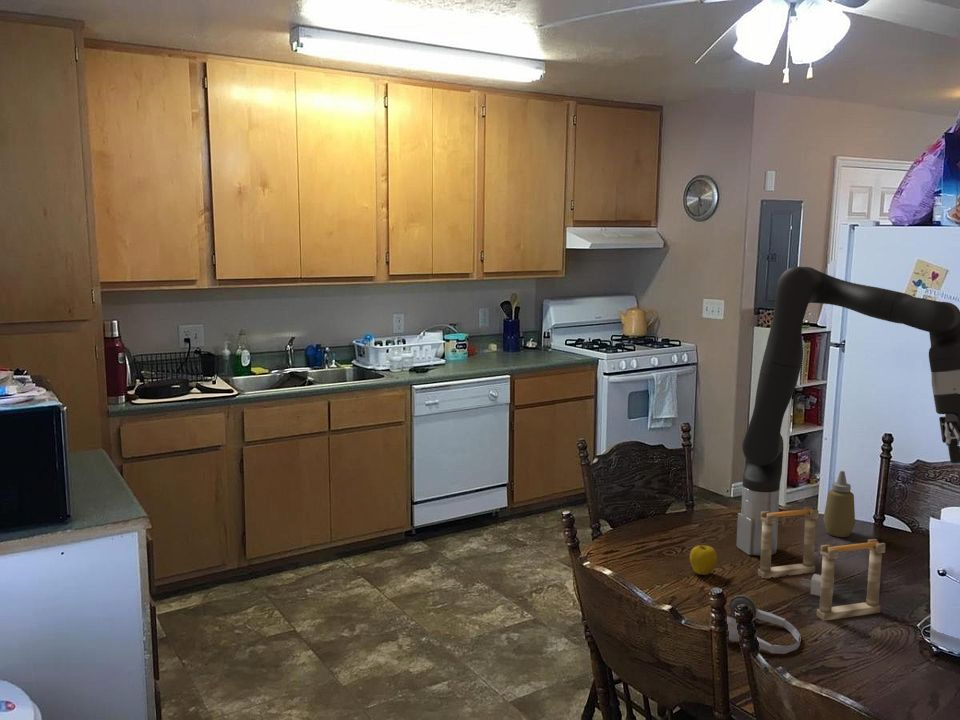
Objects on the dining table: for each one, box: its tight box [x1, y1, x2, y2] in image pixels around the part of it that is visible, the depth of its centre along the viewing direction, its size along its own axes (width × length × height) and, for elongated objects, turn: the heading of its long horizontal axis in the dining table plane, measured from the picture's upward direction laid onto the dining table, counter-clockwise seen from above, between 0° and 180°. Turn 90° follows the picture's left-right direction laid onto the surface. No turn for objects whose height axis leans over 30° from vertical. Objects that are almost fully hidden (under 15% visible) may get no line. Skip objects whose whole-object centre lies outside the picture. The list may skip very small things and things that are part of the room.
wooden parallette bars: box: [757, 506, 886, 621], centre depth 182 cm, size 14×25×16 cm, turn 14°
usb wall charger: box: [799, 573, 835, 597], centre depth 182 cm, size 4×7×4 cm, turn 57°
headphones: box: [725, 592, 802, 655], centre depth 165 cm, size 17×6×20 cm
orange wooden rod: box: [766, 508, 814, 518], centre depth 191 cm, size 13×1×1 cm, turn 104°
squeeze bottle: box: [822, 470, 856, 538], centre depth 217 cm, size 8×8×18 cm
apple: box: [689, 544, 718, 576], centre depth 193 cm, size 6×6×8 cm
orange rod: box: [827, 541, 879, 553], centre depth 170 cm, size 13×1×1 cm, turn 104°
